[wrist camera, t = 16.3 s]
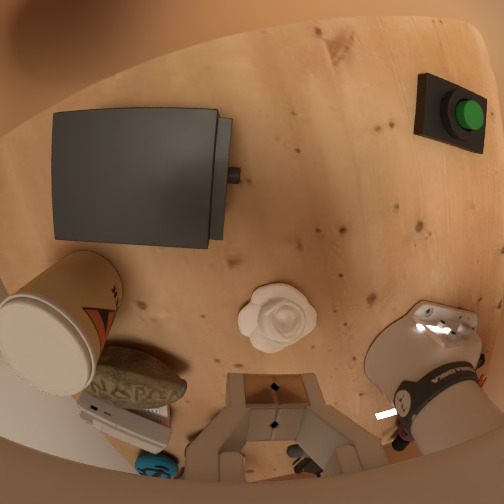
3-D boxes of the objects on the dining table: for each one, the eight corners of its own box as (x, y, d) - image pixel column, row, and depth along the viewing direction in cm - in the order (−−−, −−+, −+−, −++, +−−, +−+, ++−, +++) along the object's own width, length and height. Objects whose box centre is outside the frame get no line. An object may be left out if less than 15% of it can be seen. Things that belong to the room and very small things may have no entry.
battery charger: (314, 461, 49) (358, 466, 51) (311, 446, 52) (353, 453, 55) (293, 478, 51) (336, 483, 53) (290, 464, 54) (332, 470, 57)
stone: (59, 402, 33) (55, 348, 33) (81, 376, 42) (81, 329, 42) (182, 430, 35) (186, 376, 35) (186, 397, 44) (191, 350, 44)
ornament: (185, 475, 47) (163, 491, 50) (184, 456, 51) (164, 474, 54) (143, 463, 45) (125, 480, 47) (145, 443, 49) (127, 462, 51)
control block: (477, 99, 32) (495, 99, 29) (473, 152, 35) (491, 155, 31) (417, 74, 31) (435, 70, 28) (413, 133, 34) (431, 135, 30)
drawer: (242, 123, 32) (247, 119, 24) (234, 218, 35) (236, 241, 28) (108, 120, 30) (78, 117, 23) (106, 212, 34) (78, 231, 26)
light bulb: (293, 433, 46) (339, 427, 50) (276, 440, 49) (321, 434, 53) (299, 464, 42) (346, 454, 46) (281, 468, 46) (327, 460, 50)
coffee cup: (118, 336, 41) (84, 414, 26) (46, 301, 38) (-7, 365, 24) (142, 265, 37) (102, 336, 23) (61, 227, 35) (-8, 277, 21)
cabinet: (220, 117, 32) (218, 109, 23) (212, 220, 36) (207, 249, 27) (93, 116, 31) (53, 112, 22) (91, 214, 35) (54, 239, 26)
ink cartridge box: (97, 394, 41) (108, 432, 44) (167, 404, 42) (170, 441, 46) (101, 383, 44) (111, 422, 47) (169, 393, 45) (172, 431, 48)
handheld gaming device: (166, 448, 39) (173, 427, 42) (74, 407, 37) (84, 386, 40) (157, 457, 44) (163, 438, 47) (77, 421, 42) (85, 404, 45)
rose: (241, 368, 38) (235, 301, 35) (240, 347, 42) (234, 283, 39) (320, 359, 39) (325, 293, 35) (312, 340, 43) (315, 276, 39)
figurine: (413, 431, 55) (437, 397, 50) (417, 460, 48) (445, 428, 43) (380, 430, 56) (403, 395, 51) (383, 460, 49) (409, 428, 44)
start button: (475, 105, 29) (484, 105, 28) (473, 132, 31) (482, 133, 29) (456, 97, 29) (464, 96, 27) (454, 124, 30) (463, 125, 29)
